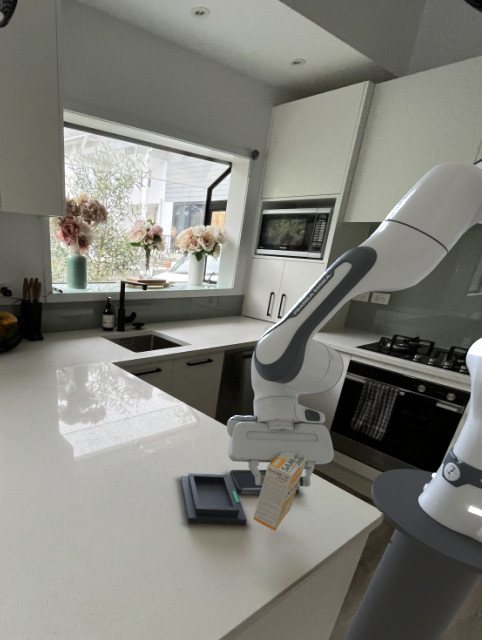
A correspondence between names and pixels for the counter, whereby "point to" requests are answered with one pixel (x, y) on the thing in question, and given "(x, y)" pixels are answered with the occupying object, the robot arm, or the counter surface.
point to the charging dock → (211, 500)
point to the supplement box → (279, 489)
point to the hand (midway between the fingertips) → (283, 485)
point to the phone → (247, 481)
